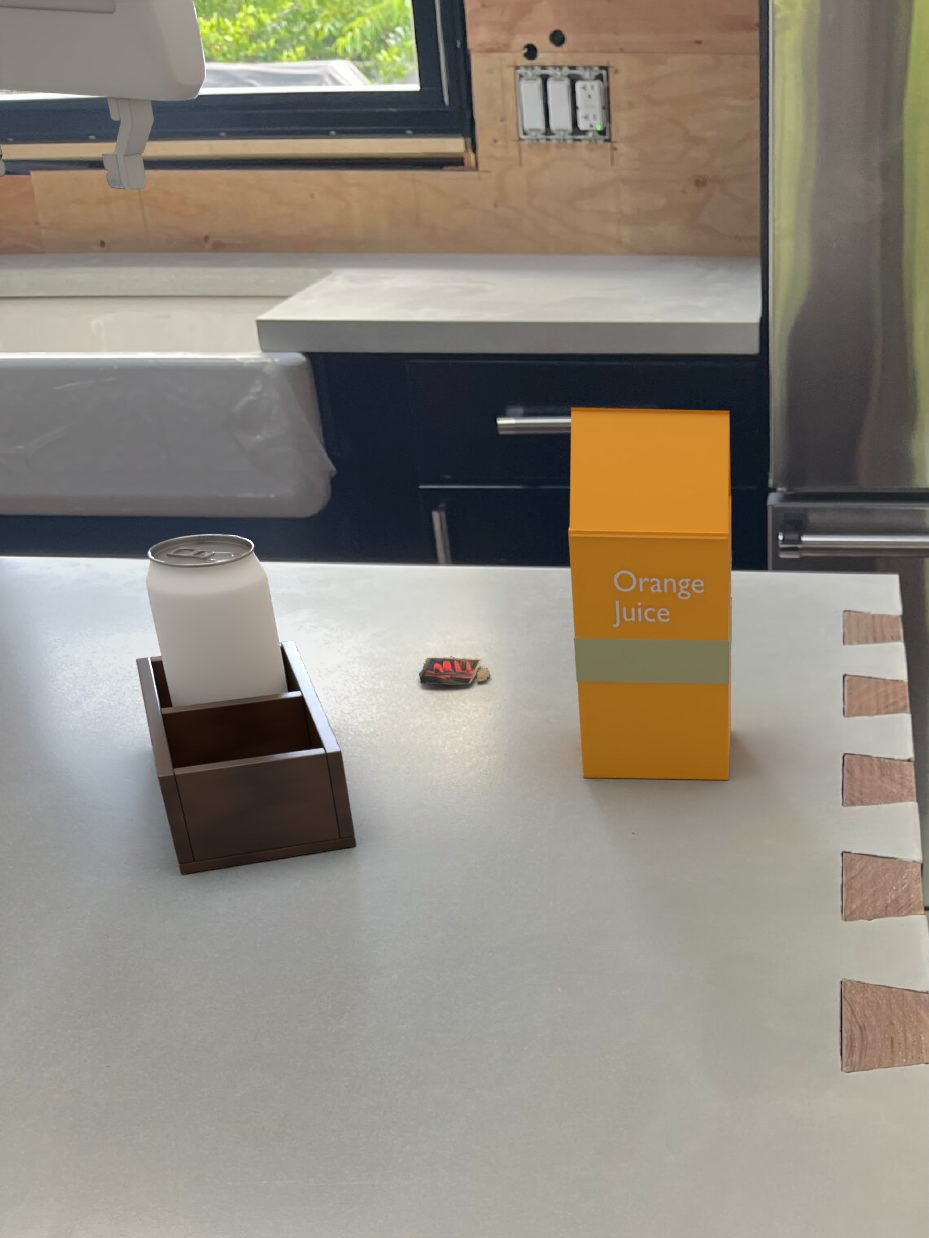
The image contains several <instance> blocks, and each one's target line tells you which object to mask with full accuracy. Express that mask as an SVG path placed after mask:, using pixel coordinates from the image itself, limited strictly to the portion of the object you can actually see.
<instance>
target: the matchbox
mask: <svg viewBox="0 0 929 1238" xmlns="http://www.w3.org/2000/svg"><path fill="white" fill-rule="evenodd" d="M482 660H483V659H482V658H471V657H455V656H453V655H450V656H449V657H448V656H446V657H445V656H443V657H436V656H435V657H426V658H425V660H424V662H422V663H423V666H422V669H421V671H420V672H419V673H418V677H419V681H420V684H426V685H427V684H429V685H451V686H453V685H454V686H456V685H469V684H471V683H474V682H476V683H478V682H479V683H480V682H483V681H487V680H488V679H491V673H490V670H489V668H488V667H484V668H483V669H480V668H481V665H480V664H481V663H482ZM479 669H480V670H479ZM475 676H476V680H474V679H475ZM473 680H474V681H473ZM431 688H432V689H433V687H431Z"/></svg>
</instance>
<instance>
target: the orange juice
mask: <svg viewBox="0 0 929 1238" xmlns="http://www.w3.org/2000/svg"><path fill="white" fill-rule="evenodd" d="M570 418H571V419H570V481H569V482H570V483H569V486H570V487H569V489H570V490H569V526H568V530H567V531H568V532H567V533H568V547H569V565H570V566H569V567H570V580H571V581H570V582H571V598H572V600H571V601H572V613H573V614H572V615H573V633H574V637H573V643H574V644H573V645H574V646H573V647H574V659H575V660H574V662H575V679H576V683H577V697H578V715H579V730H580V731H579V732H580V747H581V763H582V764H581V765H582V778H589V779H590V778H591V779H593V778H595V779H596V778H597V779H653V780H657V779H658V780H659V779H661V780H662V779H663V780H711V781H712V780H717V781H718V780H719V781H721V780H722V781H729V776H730V775H729V774H730V772H729V771H730V754H731V735H732V641H733V629H732V628H733V597H732V567H733V566H732V564H733V563H732V562H733V555H732V494H731V493H732V492H731V491H732V490H731V489H732V487H731V485H732V484H731V483H732V482H731V429H730V428H731V427H730V426H731V425H730V420H731V419H730V410H711V409H710V410H709V409H707V410H706V409H661V408H658V409H657V408H656V409H655V408H617V407H615V408H614V407H613V408H612V407H611V408H610V407H609V408H608V407H570Z"/></svg>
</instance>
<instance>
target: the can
mask: <svg viewBox="0 0 929 1238" xmlns="http://www.w3.org/2000/svg"><path fill="white" fill-rule="evenodd" d="M146 555H147V558H148V559H149V566H148V571H147V573H146V577H145V586H146V590H147V592H146V593H147V597H148V602H149V606H150V611H151V616H152V620H153V625H154V629H155V634H156V638H157V644H158V647H159V652H160V656H161V657H162V661H163V666H164V670H165V675H166V679H167V684H168V688H169V693H170V697H171V702H172V706H173V707H177V706H185V705H193V704H201V703H209V702H217V701H225V700H233V699H241V698H249V697H257V696H265V695H273V694H281V693H288V689H287V683H286V678H285V672H284V666H283V660H282V655H281V649H280V643H281V642H280V639H279V633H278V627H277V622H276V621H277V620H276V617H275V616H276V615H275V610H274V605H273V598H272V594H271V588H270V583H269V579H268V575H267V570H266V569H265V567H264V565H263V564H262V563H261V561H260V559H259V558H258V556H257V555H256V554H255V544H254V543H253V542H252V541H251V540H249V539H247V538H245V537H242V536H238V535H232V534H221V533H219V534H218V533H205V534H204V533H203V534H202V533H201V534H192V535H185V536H179V537H173V538H170V539H166V540H164V541H163V540H162V541H160V542H158V543H155V544H154V545H152V546H151V547H150V548H149V549H148V550H147V553H146ZM279 642H280V643H279Z"/></svg>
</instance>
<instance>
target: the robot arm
mask: <svg viewBox="0 0 929 1238" xmlns="http://www.w3.org/2000/svg"><path fill="white" fill-rule="evenodd" d="M206 77H207V68H206V60H205V54H204V48H203V41H202V36H201V30H200V26H199V20H198V15H197V11H196V6H195V3H194V0H0V90H3V91H17V92H29V93H46V94H59V95H61V94H62V95H73V96H74V95H75V96H86V97H87V96H89V97H100V98H101V97H102V98H106V99H107V104H108V110H109V116H110V118H111V120H112V121H115V122H119V121H120V123H119V129H118V133H117V137H116V141H115V147H114V152H106V153H101V158H102V163H103V168H104V169H105V170H106V175H105V178H106V179H105V180H106V182H107V185H108V186H109V187H110V188H111V189H119V190H130V191H136V190H142V189H145V188H146V185H147V176H146V171H145V164H144V159H143V154H144V153H145V149H146V146H147V143H148V140H149V136H150V133H151V131H152V127H153V124H154V122H155V117H154V113H153V106H152V101H161V102H177V101H178V102H179V101H188V100H189V101H190V100H195V99H197V98H198V96H199V95H200V93H201V91H202V88H203V86H204V84H205V81H206ZM6 168H7V167H6V164H5V162H4V161H3V151H2V146H1V145H0V178H3V177H5V175H6V173H7V169H6Z"/></svg>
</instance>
